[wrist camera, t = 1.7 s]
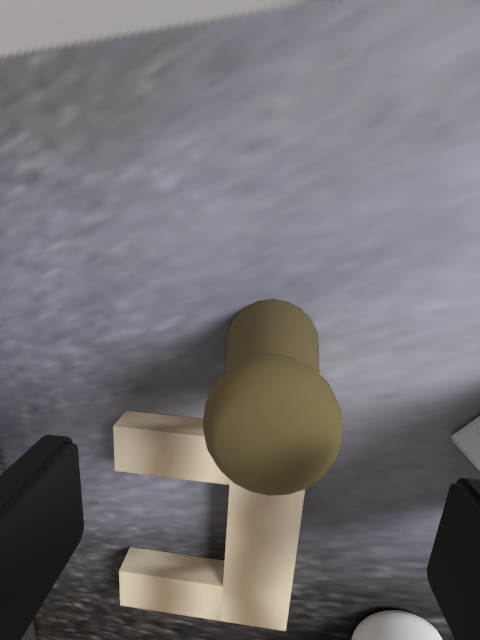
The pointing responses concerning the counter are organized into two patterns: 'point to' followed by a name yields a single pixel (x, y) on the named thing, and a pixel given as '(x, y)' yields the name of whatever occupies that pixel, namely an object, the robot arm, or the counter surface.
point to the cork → (272, 403)
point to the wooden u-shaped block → (241, 537)
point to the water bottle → (395, 627)
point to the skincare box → (469, 441)
